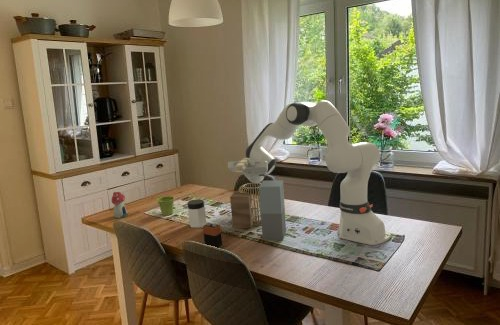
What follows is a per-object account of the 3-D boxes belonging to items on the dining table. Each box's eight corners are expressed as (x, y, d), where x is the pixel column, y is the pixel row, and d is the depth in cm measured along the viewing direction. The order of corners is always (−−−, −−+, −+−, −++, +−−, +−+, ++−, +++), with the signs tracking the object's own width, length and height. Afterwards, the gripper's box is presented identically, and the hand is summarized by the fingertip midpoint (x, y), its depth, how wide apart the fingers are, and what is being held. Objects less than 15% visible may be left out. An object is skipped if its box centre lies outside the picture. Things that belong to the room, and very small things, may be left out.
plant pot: (174, 216, 209) (172, 200, 207) (157, 217, 209) (155, 201, 207) (177, 210, 218) (176, 195, 216) (161, 211, 218) (159, 196, 216)
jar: (188, 223, 196) (185, 200, 194) (204, 220, 198) (202, 198, 196) (191, 229, 188) (188, 205, 185) (207, 226, 190) (205, 202, 188)
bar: (244, 163, 193) (243, 158, 192) (249, 162, 192) (249, 158, 192) (234, 172, 175) (234, 167, 175) (241, 172, 175) (240, 166, 174)
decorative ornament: (119, 219, 209) (115, 193, 206) (110, 218, 212) (106, 192, 209) (131, 213, 218) (127, 188, 215) (121, 213, 220) (118, 187, 217)
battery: (216, 248, 164) (214, 226, 162) (204, 245, 167) (202, 224, 165) (222, 244, 167) (220, 222, 165) (210, 242, 171) (208, 220, 169)
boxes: (237, 220, 195) (233, 174, 190) (289, 220, 189) (286, 173, 184) (225, 239, 173) (220, 187, 168) (283, 240, 167) (279, 186, 162)
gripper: (231, 164, 204) (224, 156, 191) (270, 163, 199) (265, 154, 186) (231, 175, 202) (223, 168, 189) (269, 175, 197) (264, 167, 185)
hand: (244, 161), depth 188 cm, fingers closed on bar, 3 cm apart
